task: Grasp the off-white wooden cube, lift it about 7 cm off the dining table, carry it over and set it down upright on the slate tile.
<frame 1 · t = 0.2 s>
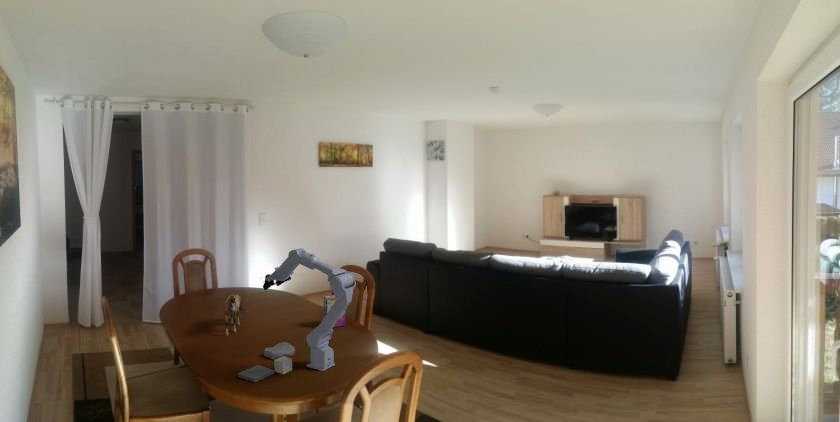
hand: (270, 286, 230), 31 cm above the table, tool tilted 45°, fingers open, 7 cm apart
slate tile: (256, 375, 209), on the table
candy bar box: (335, 326, 272), on the table
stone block: (280, 356, 232), on the table
cube: (283, 371, 214), on the table
brown animal figure: (239, 328, 268), on the table
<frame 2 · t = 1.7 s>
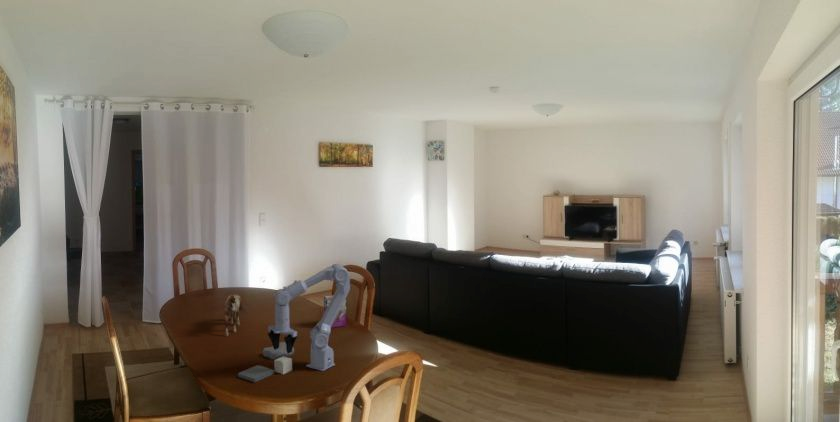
hand: (282, 350, 213), 9 cm above the table, tool pointing down, fingers open, 7 cm apart
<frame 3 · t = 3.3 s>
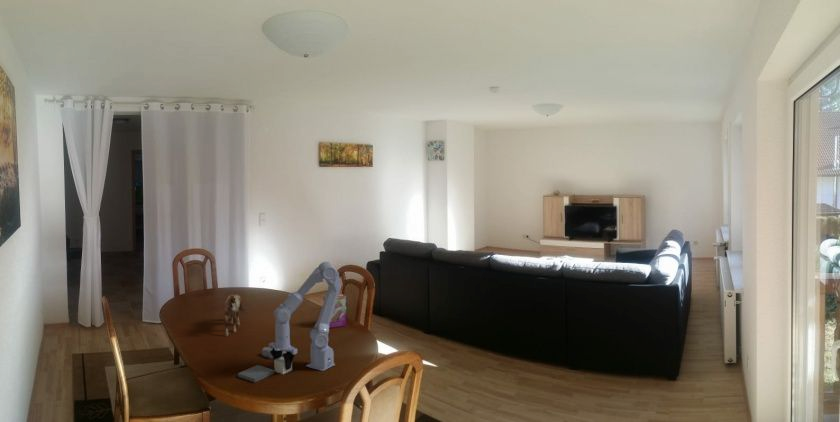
hand: (283, 367, 214), 1 cm above the table, tool pointing down, fingers closed on cube, 5 cm apart
cube: (283, 370, 214), on the table, touching gripper
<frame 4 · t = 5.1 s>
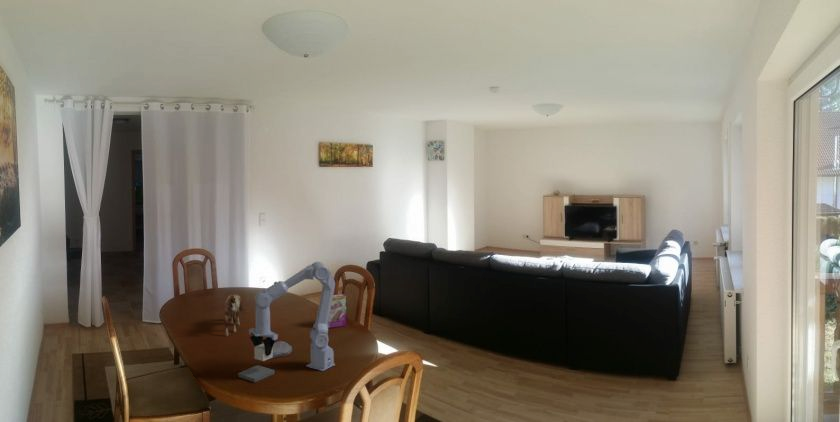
hand: (263, 353, 210), 9 cm above the table, tool pointing down, fingers closed on cube, 5 cm apart
cube: (263, 357, 210), point 7 cm above the table, touching gripper
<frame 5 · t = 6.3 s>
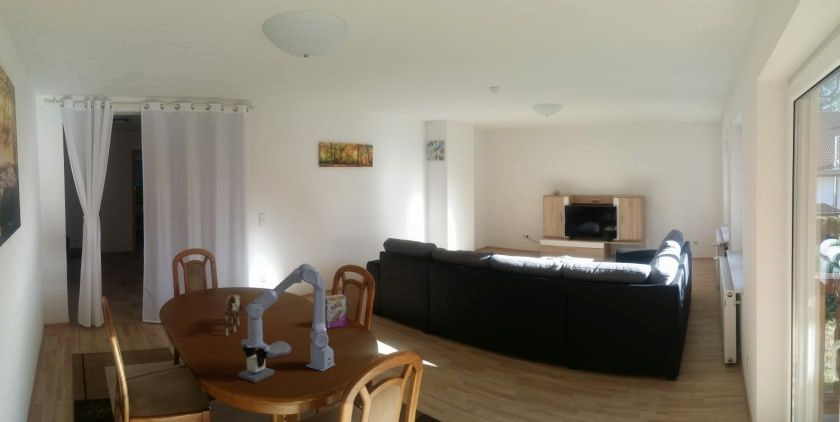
hand: (256, 364, 209), 4 cm above the table, tool pointing down, fingers closed on cube, 5 cm apart
cube: (256, 369, 209), point 3 cm above the table, touching gripper
when the fingers open (4 cm above the table, at t = 7.0 s): cube drops 1 cm, resting on slate tile.
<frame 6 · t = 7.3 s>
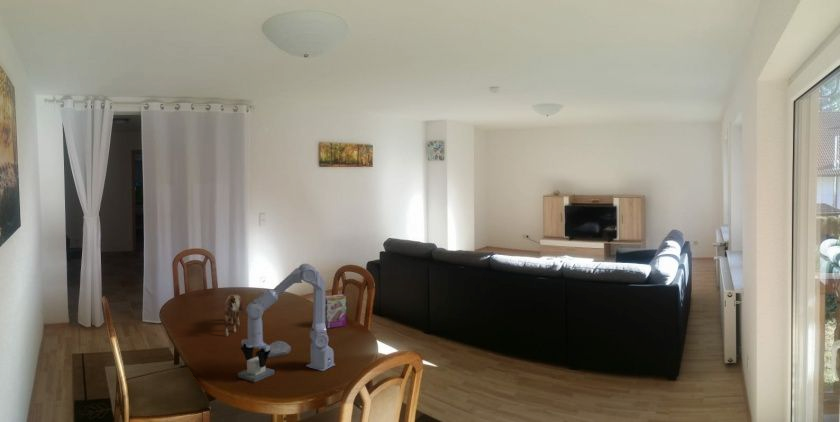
hand: (256, 364, 209), 4 cm above the table, tool pointing down, fingers open, 7 cm apart
cube: (256, 371, 209), point 1 cm above the table, touching slate tile
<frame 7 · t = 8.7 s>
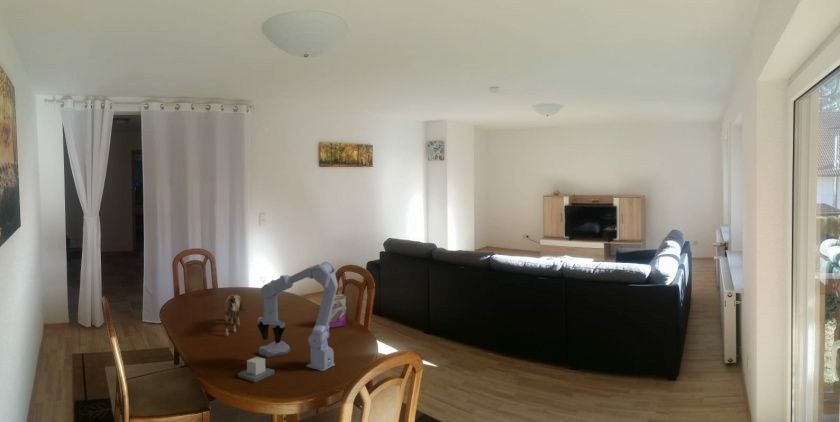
hand: (271, 341, 222), 9 cm above the table, tool pointing down, fingers open, 7 cm apart
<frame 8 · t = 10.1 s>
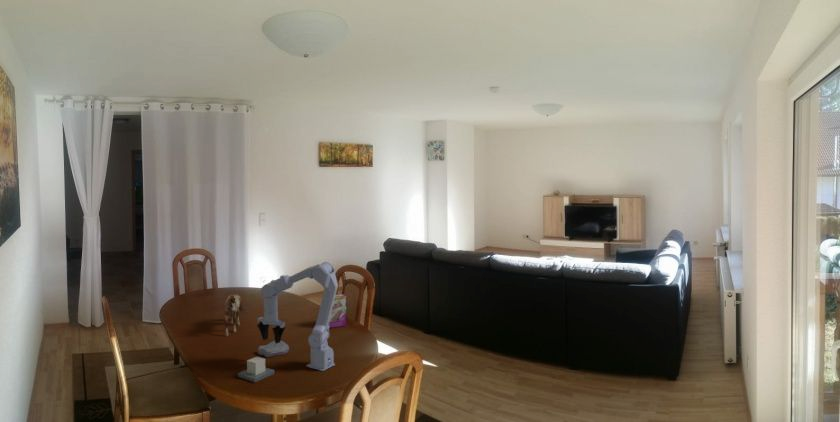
hand: (271, 341, 222), 9 cm above the table, tool pointing down, fingers open, 7 cm apart
at the end: cube 0.1 cm off-centre on the slate tile, point 1.5 cm above the slate tile's base; cube tilted 0°; the gripper is holding nothing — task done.
